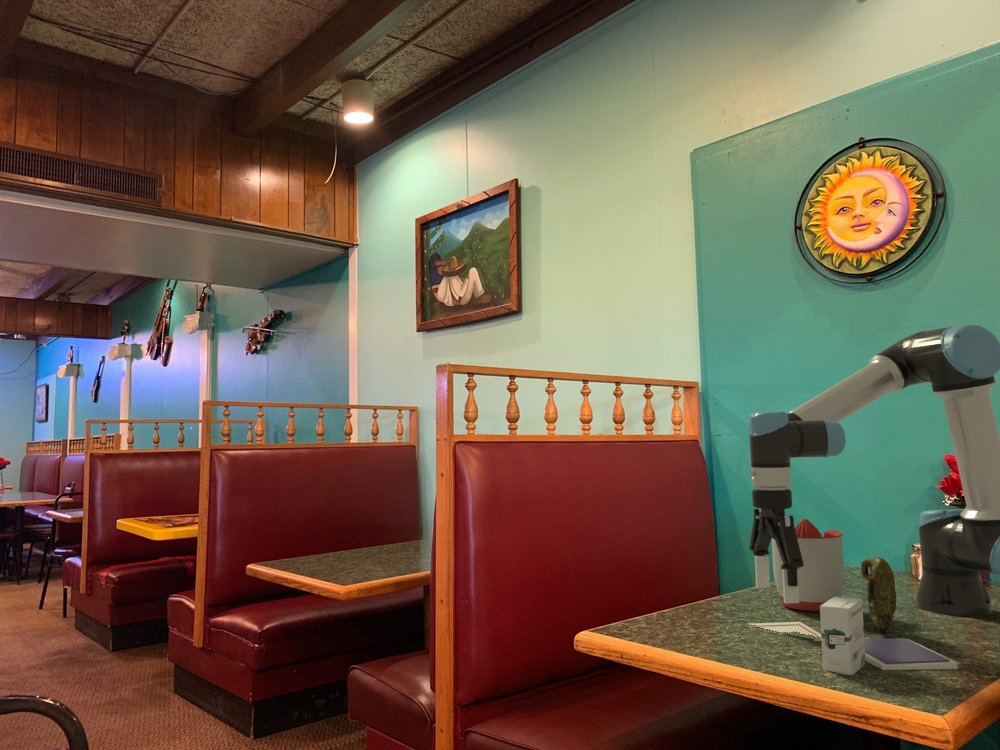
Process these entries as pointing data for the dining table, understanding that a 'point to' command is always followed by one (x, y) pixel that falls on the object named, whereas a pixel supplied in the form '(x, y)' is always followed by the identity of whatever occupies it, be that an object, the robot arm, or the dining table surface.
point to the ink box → (842, 635)
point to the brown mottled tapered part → (880, 592)
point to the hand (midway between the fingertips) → (776, 594)
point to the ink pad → (904, 655)
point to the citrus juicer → (814, 567)
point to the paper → (788, 628)
